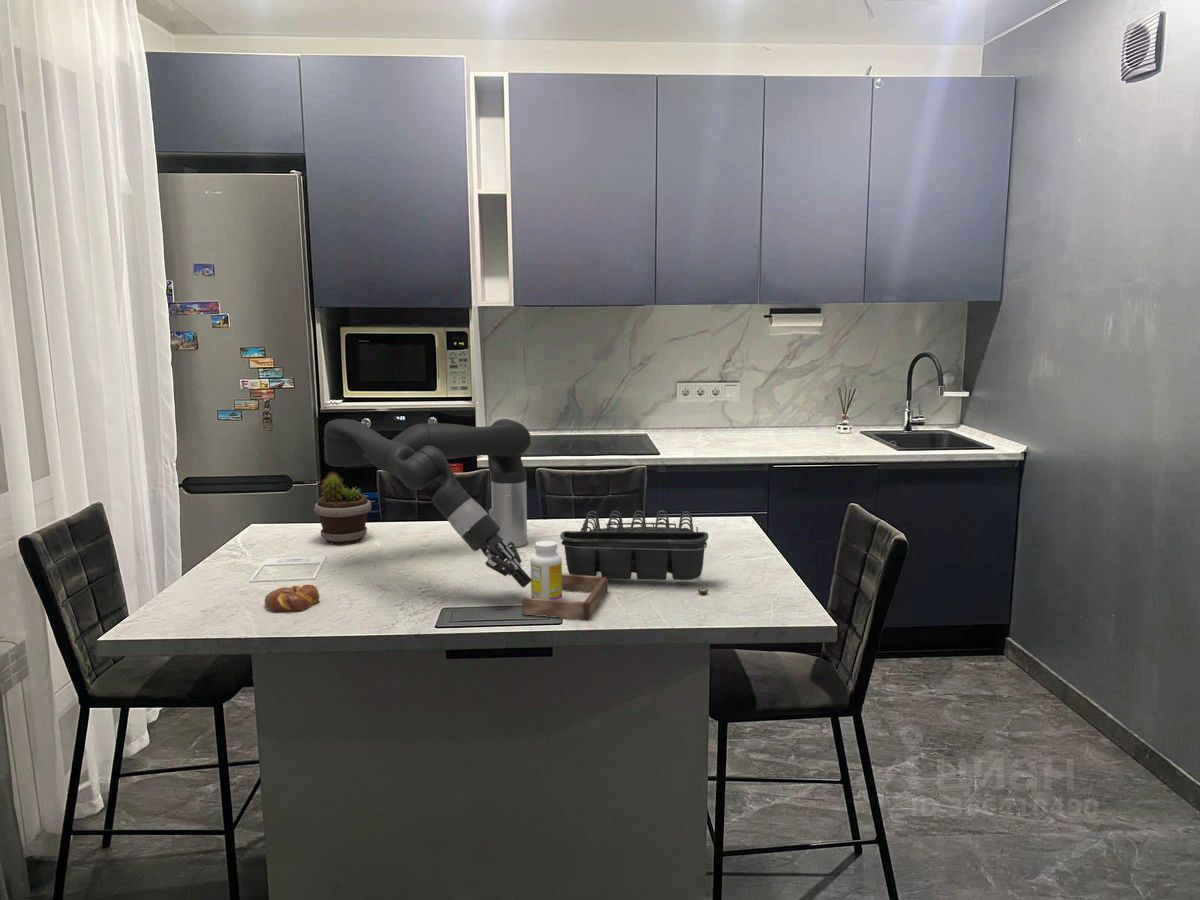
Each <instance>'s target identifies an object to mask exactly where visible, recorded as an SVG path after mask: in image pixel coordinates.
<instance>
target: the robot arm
mask: <svg viewBox="0 0 1200 900" xmlns="http://www.w3.org/2000/svg"><path fill="white" fill-rule="evenodd" d="M323 435H324V461H325V463H326V464H327V465H328V466H332V467H338V468H342V467H343V468H346V467H347V468H348V467H356V466H366V465H373V466H375V467H376V468H377V469H379V470H380V471H384V472H385V473H389V474H392V475H393V476H395V477H396V478H397V479H399V480H400V481H401V482H402V484H403V485H404V486H405V487H406V488H407V489H408V490H412V491H420V490H422V489H424V488H425V487H427V486H428V485H429V484H431V483H433V482H434V481H435V480H436V479H438V481H439V482H440V487H439V488H438V489H437V490H436V492H435V493H434V494H433V496H432V498H431V502H432V504H433V506H434V507H435V508H436V509H437V510H438V511H439V513H440V514H442V516H444V518H445V519H446V520H447V521H448V523H449V524H450V526H451V528H453V529H454V531H455V532H456V533H457V534H458V535H459V536H460V537H461V538H462V539H463V541H464V542H465V543H466V544H467V546H468V547H470V549H472V551H474V552H478V551H479V550H481V552H482V554H483V555H484V556H485V557H486V559H487V560H486V561H485V563H484V564H485V566H486V567H488V568H490V569H492V570H493V571H496V572H497V573H499V574H501V575H503V576H504V577H507V576H509V577H511V576H512V578H513V579H514V580H515V581H516V582H517V583H518V584H519V585H520V587H521V588H526V587H527V586H528V585H529V584H531V576H529V575H528V574H527V572H526V571H525V570H524V569H523V568H522V564H521V563H522V559H521V557H520V554H519V552H518V549H517V548H520V547H524V546H526V545H528V522H527V521H528V520H527V519H528V513H527V512H528V509H527V507H528V505H527V500H528V499H527V498H528V496H527V470H526V468H525V466H524V463H523V460H522V454H524V453H525V452H526V451H527V450H528V449H529V447H530V446H531V442H532V438H531V433H530V432H529V430H528V428H527V427H525V425H523V424H522V423H520V422H518V421H515V420H512V419H509V418H502V419H498V420H496V421H494V422H493V423H492V424H491V425H489V426H472V425H471V426H470V425H465V424H463V425H462V424H455V423H442V422H438V423H437V422H436V423H435V422H433V423H418V424H414V425H412V426H409V427H408V428H406V429H405V430H404V431H402V432H400V433H399V434H398V435H396V436H394V437H393V438H392V439H388V438H386V437H384V436H383V435H381V434H380V433H378V432H377V431H375V430H374V429H372V428H370V427H369V426H367V425H366V424H365V423H362V422H360V421H358V420H355V419H350V418H337V419H332V420H330V421H328V422H327V423H326V424H325V426H324V433H323ZM478 456H487V462H488V470H489V473H490V479H491V481H490V483H491V484H490V486H491V508H490V509H488V512H487V511H486V510H485V509H484V507H482V506H481V504H480V503H478V501H476V500H475V499H474V498H473V497H472V496H471V495H470V494H469V493H468V492H467V490H466V489H464V488H463V486H462V485H461V484H460V482H459V480H458V479H457V477H456V476H455V473H454V472H453V471H452V468H451V466H450V464H449V462H448V460H450V459H461V458H467V457H478Z"/></svg>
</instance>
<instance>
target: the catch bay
mask: <svg viewBox="0 0 1200 900" xmlns="http://www.w3.org/2000/svg"><path fill="white" fill-rule="evenodd" d="M608 580H609V579H608V577H601V575H600V576H599V575H598V576H597V575H596V576H586V575H571V574H569V573H562V590H570V591H569V592H574V591H585V592H584V593H588V592H591V593H589V594H588V596H587V597H586V599H585V600H584V601H580V600H565V599H562V600H555V599H542V598H532V597H527V596H523V597H522V598H521V615H522V614H529V615H531V614H532V615H546V616H556V617H561V618H560V619H563V618H567V619H566V620H575V619H585V620H584V621H588V620H589V619H591V618H592V617H593V615H594V613H595V612H596V610H597V609H598V607H599V606H600V604H601V603H600V602H602V601H603V600H604V598H605V597H604V596H606V595H607V594H608ZM606 593H607V594H606ZM605 594H606V595H605ZM603 597H604V598H603ZM602 599H603V600H602ZM601 600H602V601H601ZM599 603H600V604H599ZM598 605H599V606H598ZM597 606H598V607H597ZM596 608H597V609H596ZM595 609H596V610H595ZM594 611H595V612H594ZM593 612H594V613H593ZM592 614H593V615H592ZM591 616H592V617H591ZM590 617H591V618H590ZM589 621H590V620H589Z"/></svg>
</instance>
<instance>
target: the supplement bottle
mask: <svg viewBox="0 0 1200 900" xmlns="http://www.w3.org/2000/svg"><path fill="white" fill-rule="evenodd" d="M534 549H535V553H534V554H533V555H532V556H531V558H530V578H531V582H530V584H531V585H530V589H531V591H530V592H531V594H530V595H531V596H530V597H531V598H542V599H555V600H563V591H562V574H563V568H562V566H563V561H562V556H561V555H560V554H559V553H558V552H557V549H558V543H557V542H556V541H553V540H541V541H536V542H535V543H534Z"/></svg>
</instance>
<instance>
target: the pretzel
mask: <svg viewBox="0 0 1200 900" xmlns="http://www.w3.org/2000/svg"><path fill="white" fill-rule="evenodd" d="M319 601H320V593H319V590H318V588H317V587H316V586H315V585H312V584H304V585H302V586H301V585H292V586H290V587H287V586H286V587H279V588H277V589H275V590H272V591H271V592H269V593H268V594H266V596H265V598H264V605H265V607H266V608H267V609H268V610H269V611H272V612H275V613H286V612H301V611H305V610H307V609H309V608H310V606H314V604H317V603H318V602H319Z"/></svg>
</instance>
